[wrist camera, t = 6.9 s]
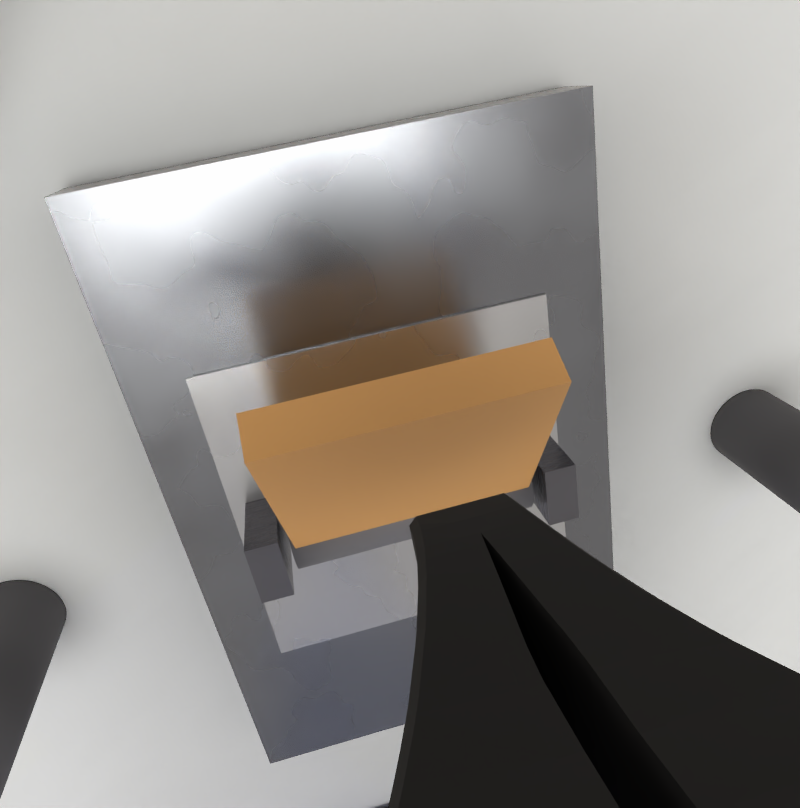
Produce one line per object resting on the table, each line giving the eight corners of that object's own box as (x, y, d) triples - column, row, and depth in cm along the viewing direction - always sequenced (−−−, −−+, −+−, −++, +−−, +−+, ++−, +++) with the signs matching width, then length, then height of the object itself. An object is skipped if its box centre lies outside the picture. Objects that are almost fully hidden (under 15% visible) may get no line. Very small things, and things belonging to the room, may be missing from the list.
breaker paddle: (528, 514, 18) (582, 394, 12) (302, 575, 17) (241, 480, 11) (508, 462, 19) (551, 323, 13) (291, 518, 18) (227, 400, 12)
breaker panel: (595, 628, 24) (650, 714, 21) (269, 722, 23) (271, 829, 20) (563, 87, 16) (643, 83, 13) (64, 188, 15) (8, 214, 12)
